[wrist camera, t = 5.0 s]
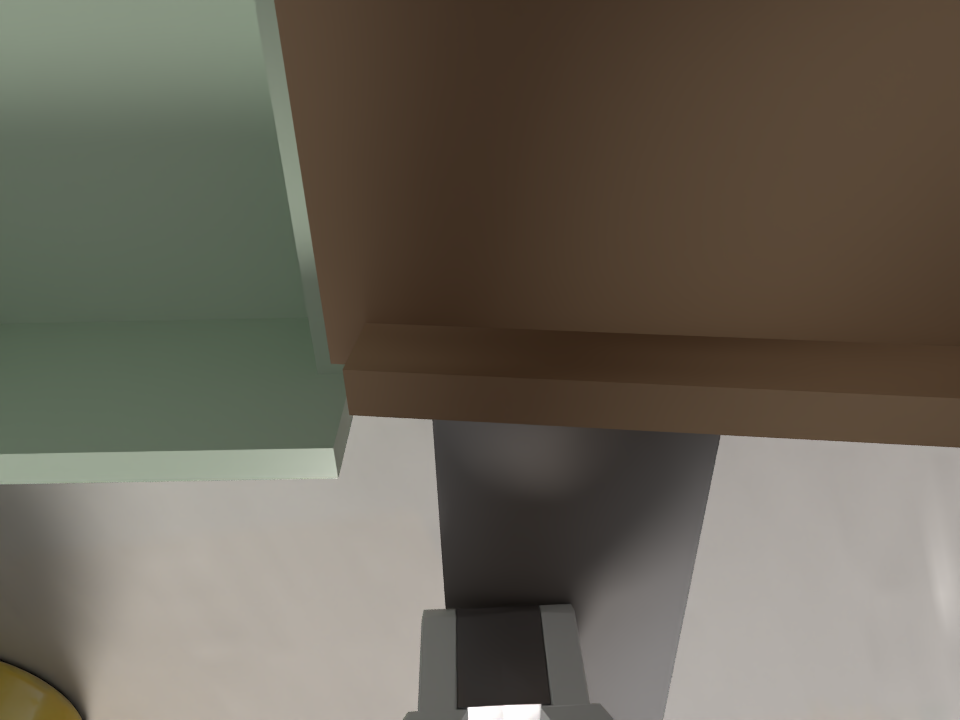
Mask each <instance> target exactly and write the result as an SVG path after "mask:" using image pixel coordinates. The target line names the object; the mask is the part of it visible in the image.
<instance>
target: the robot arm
mask: <svg viewBox="0 0 960 720" xmlns="http://www.w3.org/2000/svg"><path fill="white" fill-rule="evenodd" d="M403 720H614V719H613V718H612V716H611V715H610V714H609V713H608V712H607V711H606V709H605V708H604V707H603V706H602V705H601V704H600V703H590V699H589V693H588V687H587V681H586V675H585V669H584V663H583V658H582V652H581V646H580V640H579V634H578V628H577V623H576V617H575V611H574V609H573V607H572V605H571V604H554V605H539V607H538V604H537V605H520V606H503V607H486V608H469V609H457V610H456V609H434V610H424V612H423V616H422V624H421V648H420V672H419V696H418V711H414V712H408V713H407V714H406V716H405V717H404V719H403Z"/></svg>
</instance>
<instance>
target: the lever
mask: <svg viewBox="0 0 960 720" xmlns="http://www.w3.org/2000/svg"><path fill="white" fill-rule="evenodd" d="M274 4H275V10H276V17H277V23H278V29H279V36H280V42H281V49H282V55H283V61H284V68H285V74H286V81H287V87H288V93H289V100H290V106H291V112H292V119H293V125H294V132H295V138H296V144H297V151H298V157H299V164H300V170H301V176H302V183H303V189H304V196H305V202H306V208H307V215H308V221H309V228H310V234H311V240H312V247H313V253H314V259H315V266H316V272H317V279H318V285H319V291H320V298H321V304H322V311H323V317H324V323H325V330H326V336H327V343H328V349H329V355H330V362H331V364H345V366H344V368H343V377H344V383H345V390H346V397H347V404H348V411H349V415H358V416H377V417H395V418H414V419H433V434H434V448H435V462H436V477H437V491H438V505H439V520H440V534H441V548H442V563H443V577H444V591H445V606H446V609H456V610H457V609H469V608H486V607H503V606H520V605H537V604H538V607H539V605H554V604H571V605H572V607H573V609H574V611H575V617H576V623H577V628H578V634H579V640H580V646H581V652H582V658H583V663H584V669H585V675H586V681H587V687H588V693H589V699H590V703H600V704H601V705H602V706H603V707H604V708H605V709H606V711H607V712H608V713H609V714H610V715H611V716H612V718H613V719H614V720H663V718H664V713H665V708H666V703H667V698H668V693H669V688H670V683H671V678H672V673H673V668H674V663H675V658H676V653H677V648H678V643H679V638H680V633H681V628H682V623H683V618H684V613H685V608H686V604H687V599H688V594H689V589H690V584H691V579H692V574H693V569H694V564H695V559H696V554H697V549H698V544H699V539H700V534H701V529H702V524H703V519H704V514H705V509H706V504H707V499H708V495H709V490H710V485H711V480H712V475H713V470H714V465H715V460H716V455H717V450H718V445H719V440H720V435H734V436H753V437H771V438H790V439H809V440H828V441H847V442H865V443H884V444H903V445H922V446H941V447H959V448H960V0H274Z"/></svg>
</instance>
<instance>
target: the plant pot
mask: <svg viewBox="0 0 960 720" xmlns="http://www.w3.org/2000/svg"><path fill="white" fill-rule="evenodd" d="M0 720H82V718H81V716H80V715H79V713H78V712H77V710H76V709H75V708H74V706H73V705H72V704H71V703H70V701H69V700H68V699H66V698H65V697H64V696H63V695H62V694H61V693H60V692H58V691H57V690H56V689H55V688H53V687H52V686H51V685H49V684H47V683H46V682H44V681H43V680H41V679H40V678H38V677H36V676H34V675H32V674H30V673H28V672H26V671H24V670H22V669H20V668H17V667H15V666H13V665H10V664H7V663H4V662H1V661H0Z"/></svg>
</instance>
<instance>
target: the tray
mask: <svg viewBox="0 0 960 720" xmlns="http://www.w3.org/2000/svg"><path fill="white" fill-rule="evenodd" d="M344 366H345V364H331V362H330V355H329V349H328V343H327V336H326V330H325V323H324V317H323V311H322V304H321V298H320V291H319V285H318V279H317V272H316V266H315V259H314V253H313V247H312V240H311V234H310V228H309V221H308V215H307V208H306V202H305V196H304V189H303V183H302V176H301V170H300V164H299V157H298V151H297V144H296V138H295V132H294V125H293V119H292V112H291V106H290V100H289V93H288V87H287V81H286V74H285V68H284V61H283V55H282V49H281V42H280V36H279V29H278V23H277V17H276V10H275V4H274V0H0V484H53V483H109V482H164V481H220V480H276V479H332V478H338V477H339V473H340V469H341V465H342V460H343V456H344V452H345V448H346V443H347V439H348V435H349V431H350V427H351V422H352V418H353V415H349V411H348V404H347V397H346V390H345V383H344V377H343V368H344Z"/></svg>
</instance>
